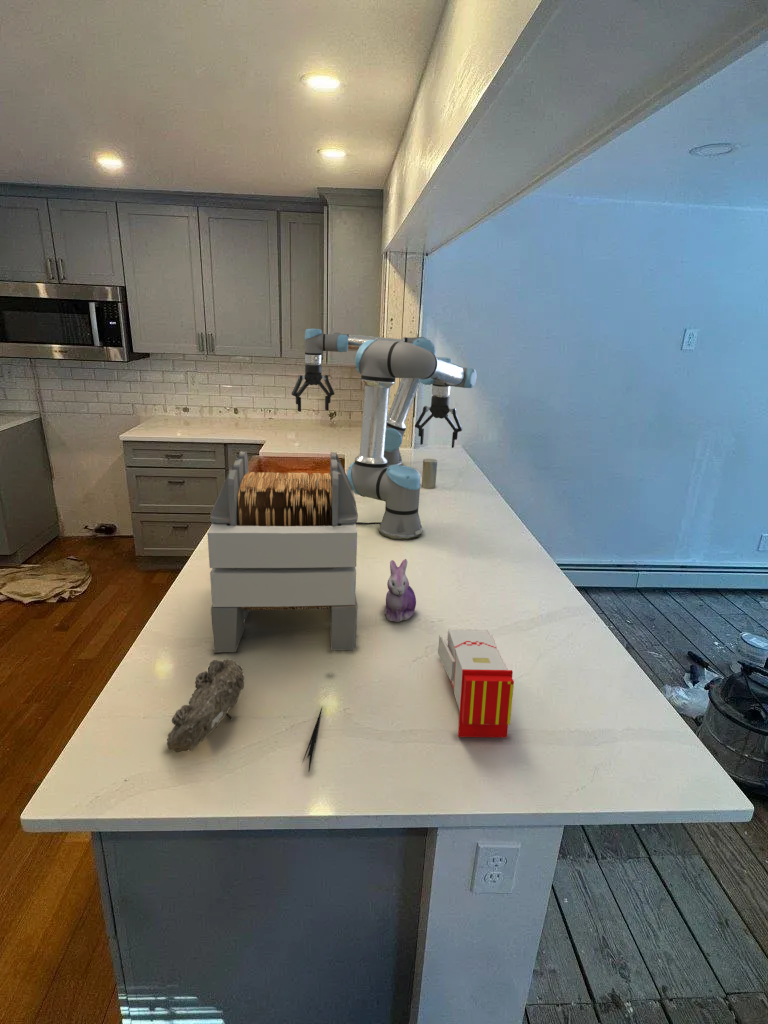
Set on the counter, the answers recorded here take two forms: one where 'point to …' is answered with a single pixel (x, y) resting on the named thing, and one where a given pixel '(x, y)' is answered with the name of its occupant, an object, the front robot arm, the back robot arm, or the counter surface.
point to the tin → (429, 473)
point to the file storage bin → (283, 549)
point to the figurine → (399, 594)
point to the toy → (478, 682)
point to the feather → (313, 740)
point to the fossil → (206, 705)
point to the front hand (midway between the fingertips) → (437, 445)
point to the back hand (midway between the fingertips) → (313, 410)
